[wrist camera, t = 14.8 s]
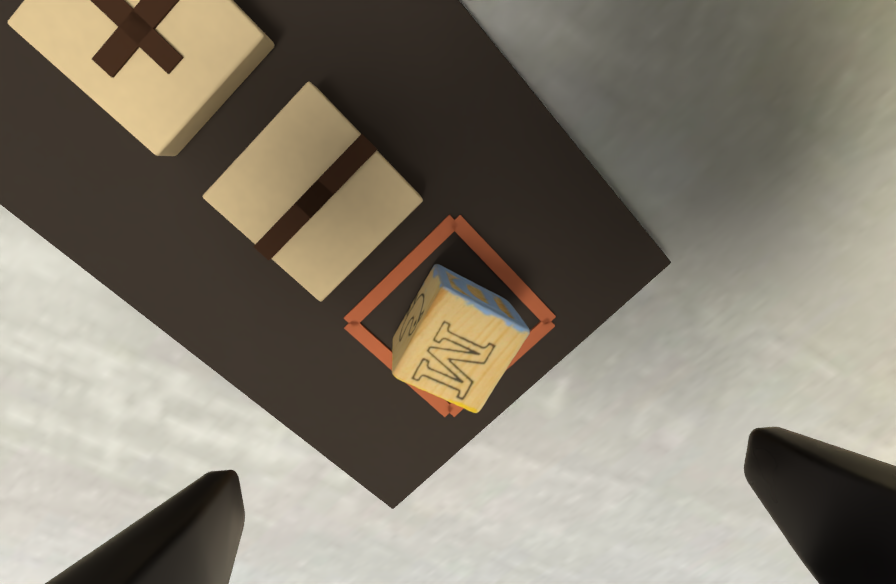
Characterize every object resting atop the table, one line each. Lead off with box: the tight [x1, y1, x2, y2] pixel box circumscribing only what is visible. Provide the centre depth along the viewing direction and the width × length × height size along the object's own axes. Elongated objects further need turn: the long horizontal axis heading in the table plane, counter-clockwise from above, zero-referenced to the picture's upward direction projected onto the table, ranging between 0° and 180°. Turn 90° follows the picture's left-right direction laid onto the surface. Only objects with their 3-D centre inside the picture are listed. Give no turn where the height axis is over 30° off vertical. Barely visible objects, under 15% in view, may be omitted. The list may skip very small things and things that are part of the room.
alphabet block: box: [392, 264, 530, 413], centre depth 15 cm, size 3×3×3 cm
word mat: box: [0, 0, 671, 509], centre depth 14 cm, size 20×14×2 cm
